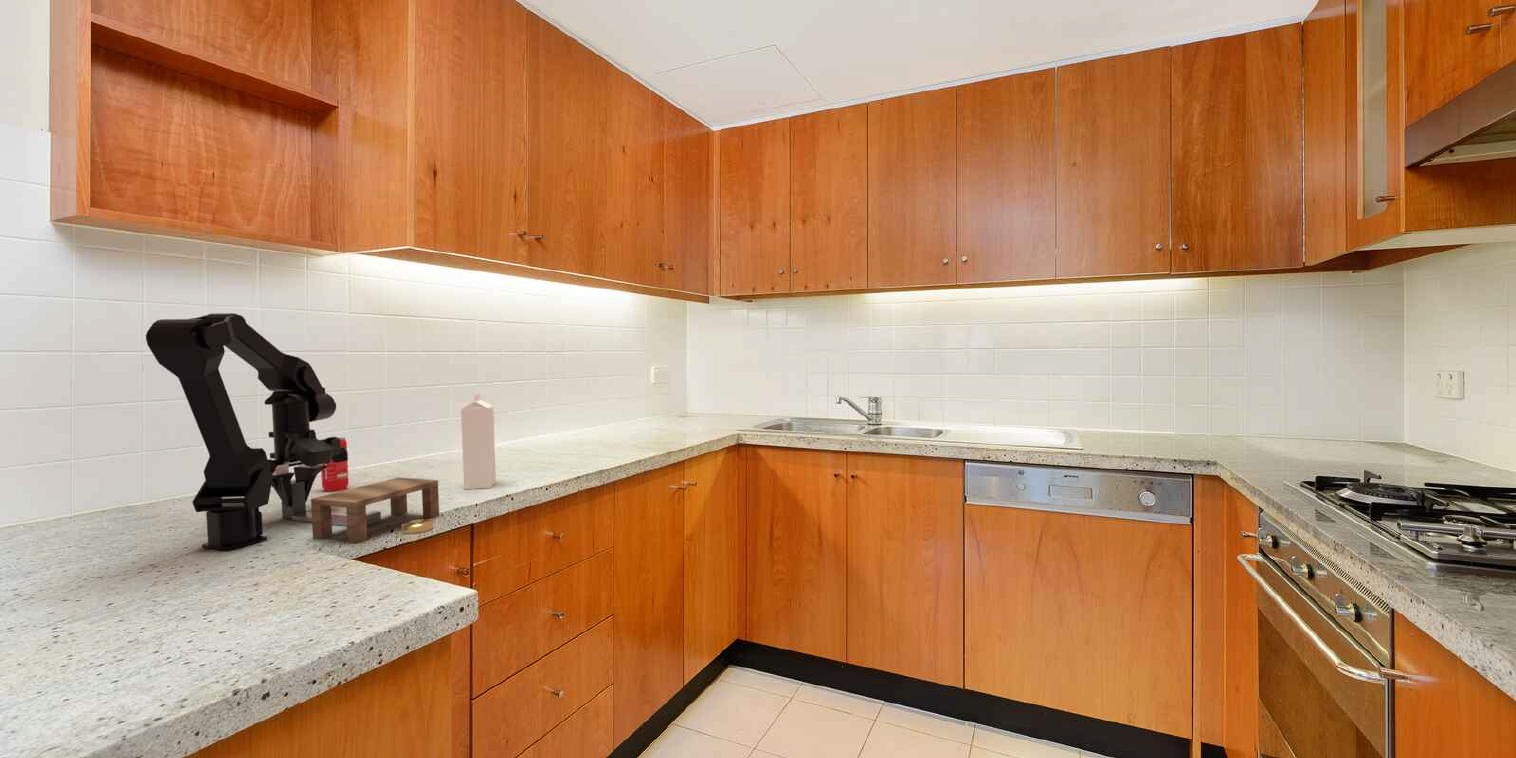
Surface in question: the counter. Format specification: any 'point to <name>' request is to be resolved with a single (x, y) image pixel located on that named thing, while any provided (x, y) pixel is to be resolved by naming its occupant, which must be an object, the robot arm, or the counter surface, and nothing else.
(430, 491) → the walnut bench
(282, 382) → the robot arm
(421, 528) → the brass token
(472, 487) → the milk
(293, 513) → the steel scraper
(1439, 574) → the counter surface
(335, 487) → the beverage can
